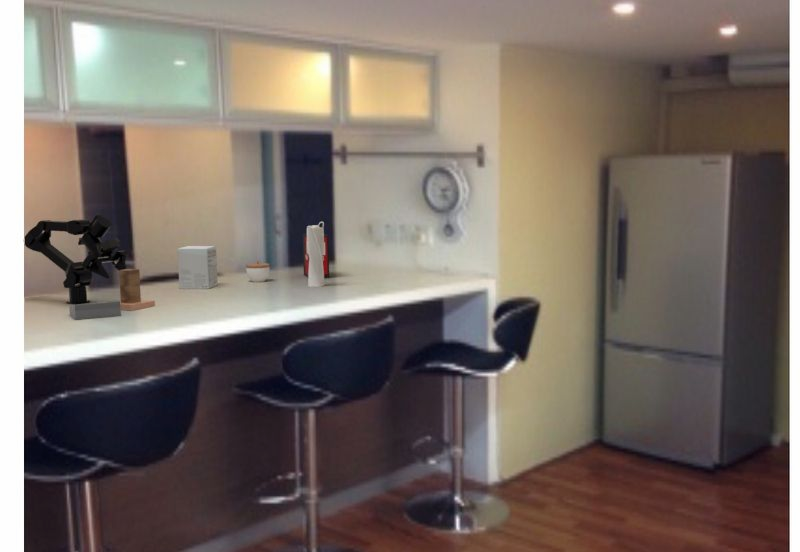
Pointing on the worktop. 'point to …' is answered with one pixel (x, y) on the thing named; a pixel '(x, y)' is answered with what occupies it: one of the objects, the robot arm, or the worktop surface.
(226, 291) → the worktop surface
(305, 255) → the cleaning product box
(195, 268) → the supplement box
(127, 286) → the walnut block
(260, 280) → the lidded jar
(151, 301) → the terracotta tile stand
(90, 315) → the slate shelf ledge
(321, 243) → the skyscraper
